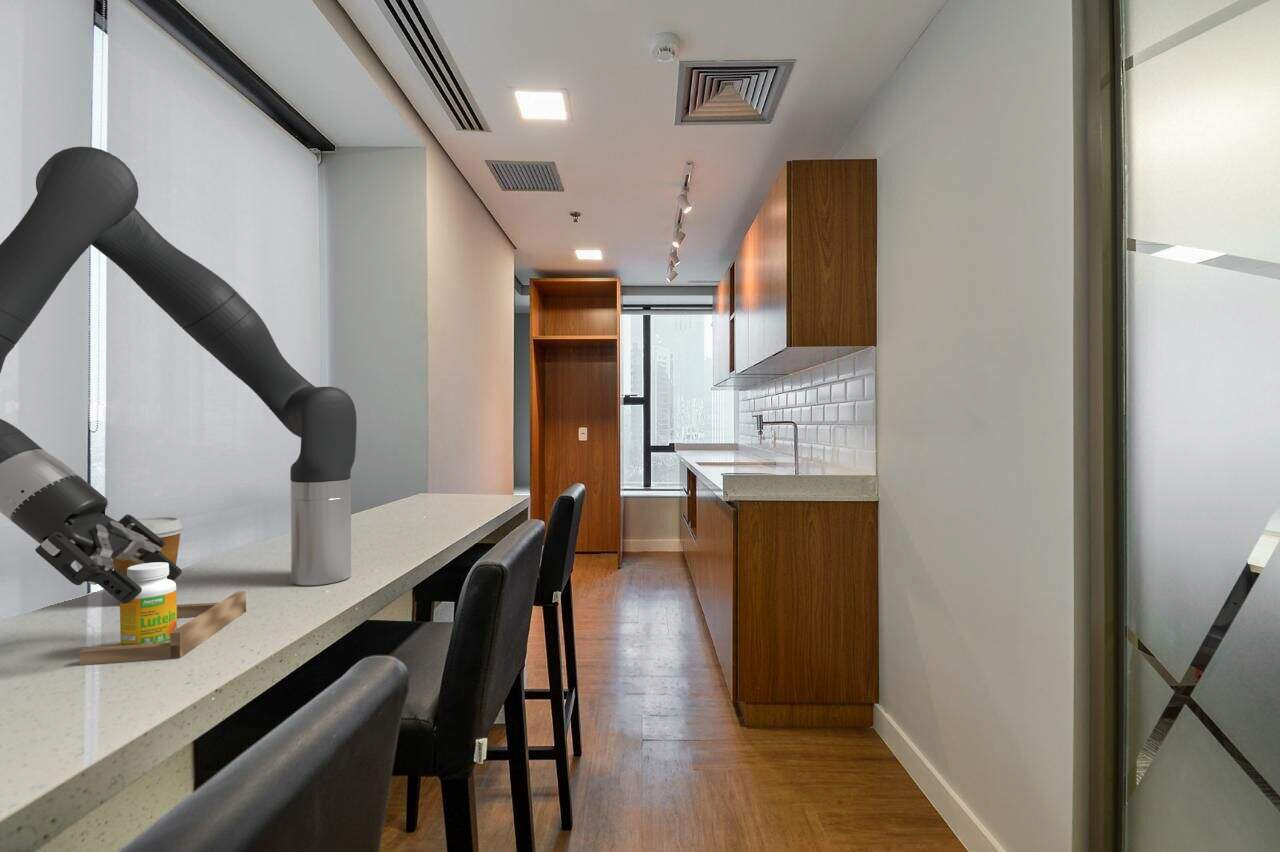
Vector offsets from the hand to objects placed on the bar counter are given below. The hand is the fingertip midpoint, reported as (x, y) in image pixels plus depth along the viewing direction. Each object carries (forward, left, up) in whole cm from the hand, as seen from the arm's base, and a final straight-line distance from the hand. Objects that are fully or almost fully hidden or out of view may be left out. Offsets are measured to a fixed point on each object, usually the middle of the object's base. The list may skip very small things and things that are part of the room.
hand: (156, 587), depth 74 cm
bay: (-4, -1, -7) cm, 8 cm away
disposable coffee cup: (-22, -13, -7) cm, 27 cm away
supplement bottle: (0, -1, -7) cm, 7 cm away
